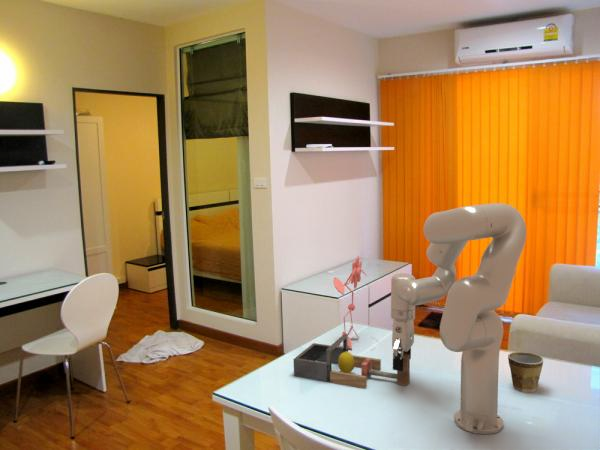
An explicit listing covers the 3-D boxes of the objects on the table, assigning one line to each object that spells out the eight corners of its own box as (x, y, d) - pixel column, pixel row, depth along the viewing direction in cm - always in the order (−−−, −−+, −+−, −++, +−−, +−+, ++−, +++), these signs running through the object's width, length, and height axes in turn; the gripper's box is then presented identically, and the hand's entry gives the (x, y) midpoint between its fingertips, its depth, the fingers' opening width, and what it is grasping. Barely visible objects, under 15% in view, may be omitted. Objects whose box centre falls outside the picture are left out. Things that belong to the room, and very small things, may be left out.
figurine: (328, 353, 195) (328, 261, 190) (349, 332, 219) (350, 249, 214) (368, 360, 189) (369, 264, 185) (385, 337, 213) (387, 252, 208)
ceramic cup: (546, 396, 156) (547, 364, 155) (510, 394, 159) (511, 362, 157) (535, 378, 169) (536, 348, 168) (503, 376, 171) (503, 347, 170)
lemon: (354, 371, 179) (354, 348, 178) (354, 377, 173) (354, 354, 172) (338, 370, 180) (338, 348, 179) (337, 377, 174) (337, 354, 173)
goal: (330, 382, 170) (329, 350, 169) (293, 376, 176) (293, 344, 175) (347, 364, 185) (347, 334, 184) (313, 359, 191) (313, 329, 189)
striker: (406, 386, 165) (406, 359, 164) (361, 379, 171) (361, 353, 170) (410, 379, 170) (410, 353, 169) (366, 373, 176) (366, 347, 175)
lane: (365, 388, 165) (365, 377, 165) (330, 382, 170) (330, 371, 170) (380, 369, 180) (380, 359, 179) (347, 364, 185) (347, 354, 184)
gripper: (407, 323, 156) (406, 377, 159) (420, 306, 172) (419, 356, 174) (383, 319, 159) (382, 372, 162) (398, 304, 175) (397, 352, 177)
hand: (401, 364), depth 168 cm, fingers open, 9 cm apart
